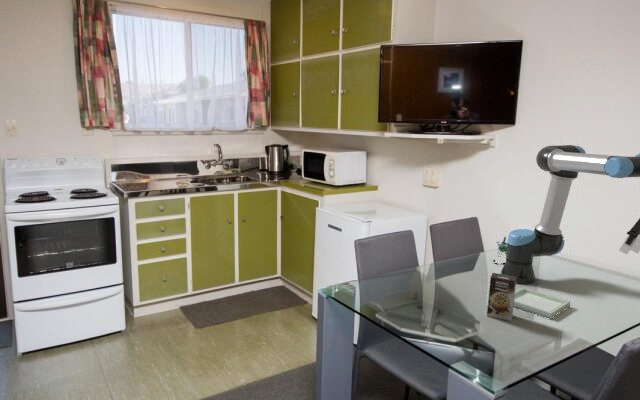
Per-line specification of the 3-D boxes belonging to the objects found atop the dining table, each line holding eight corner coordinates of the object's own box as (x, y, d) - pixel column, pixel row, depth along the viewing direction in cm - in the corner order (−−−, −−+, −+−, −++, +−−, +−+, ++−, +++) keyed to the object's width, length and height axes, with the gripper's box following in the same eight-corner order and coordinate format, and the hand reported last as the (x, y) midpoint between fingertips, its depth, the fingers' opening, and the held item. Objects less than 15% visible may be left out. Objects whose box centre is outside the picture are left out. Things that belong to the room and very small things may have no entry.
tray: (501, 302, 192) (501, 297, 192) (522, 292, 203) (522, 287, 203) (550, 319, 177) (550, 313, 177) (569, 307, 188) (570, 301, 188)
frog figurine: (520, 260, 248) (522, 234, 244) (501, 270, 238) (502, 243, 234) (504, 255, 256) (505, 230, 252) (485, 265, 246) (486, 239, 242)
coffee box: (486, 316, 179) (489, 277, 176) (488, 310, 185) (492, 272, 182) (511, 321, 175) (515, 281, 172) (513, 315, 181) (516, 276, 178)
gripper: (664, 204, 152) (628, 258, 159) (681, 207, 169) (648, 256, 175) (640, 194, 157) (607, 247, 164) (659, 198, 174) (628, 246, 181)
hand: (628, 252), depth 170 cm, fingers open, 13 cm apart
